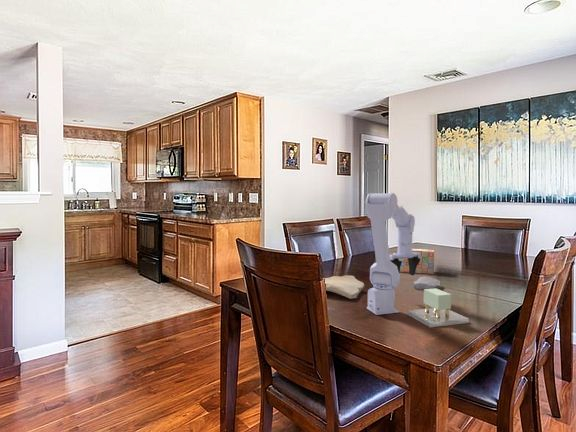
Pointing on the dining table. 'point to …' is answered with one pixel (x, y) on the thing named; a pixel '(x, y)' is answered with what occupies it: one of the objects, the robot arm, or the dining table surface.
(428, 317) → the base plate
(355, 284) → the cream rock
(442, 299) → the block
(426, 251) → the stack of blocks
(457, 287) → the dining table surface
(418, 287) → the stone block
